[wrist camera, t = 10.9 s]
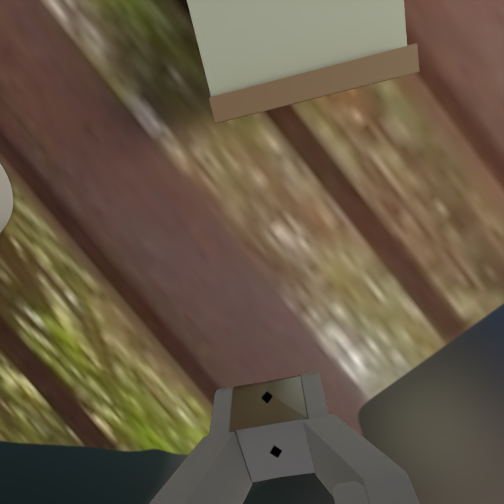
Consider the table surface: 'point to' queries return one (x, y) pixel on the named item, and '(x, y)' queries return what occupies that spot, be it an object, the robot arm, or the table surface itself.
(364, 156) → the table surface
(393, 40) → the lid
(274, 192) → the table surface
